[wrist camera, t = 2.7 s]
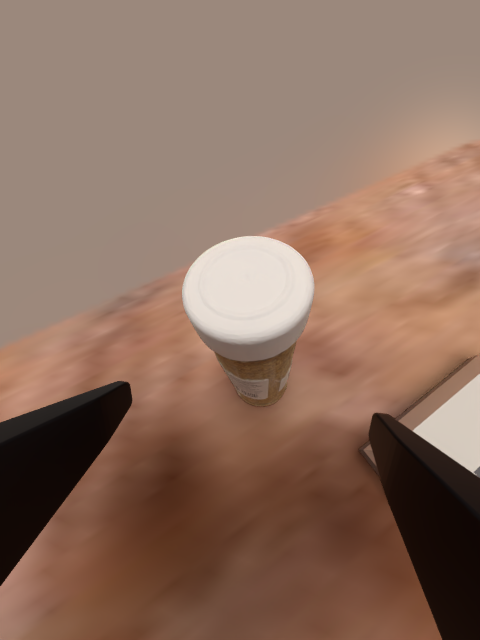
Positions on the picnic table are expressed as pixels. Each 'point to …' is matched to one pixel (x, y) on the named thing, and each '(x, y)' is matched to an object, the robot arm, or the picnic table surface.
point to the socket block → (447, 417)
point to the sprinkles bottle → (251, 311)
